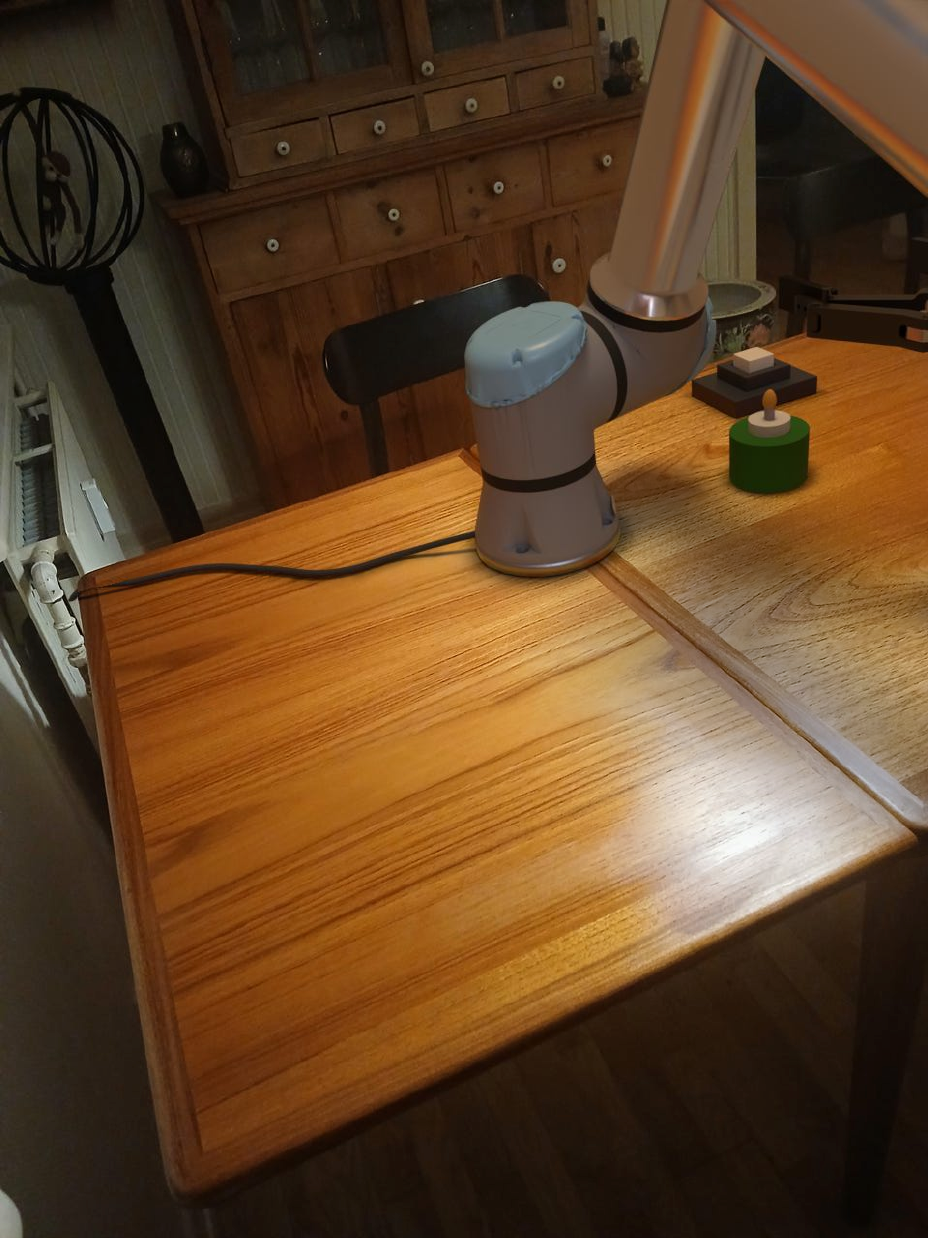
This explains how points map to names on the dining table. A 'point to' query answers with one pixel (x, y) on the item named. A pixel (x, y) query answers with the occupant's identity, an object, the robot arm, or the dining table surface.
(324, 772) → the dining table surface
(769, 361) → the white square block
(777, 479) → the candle
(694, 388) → the tiered dark pedestal
